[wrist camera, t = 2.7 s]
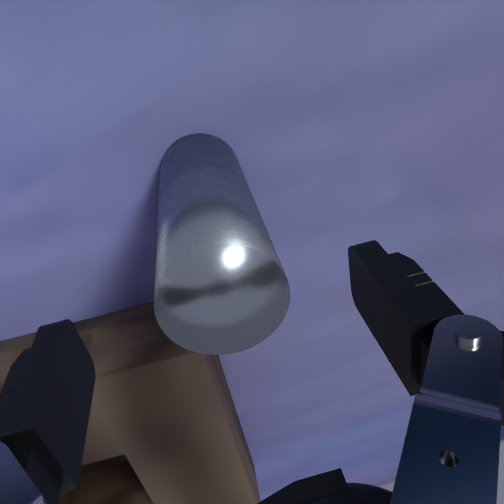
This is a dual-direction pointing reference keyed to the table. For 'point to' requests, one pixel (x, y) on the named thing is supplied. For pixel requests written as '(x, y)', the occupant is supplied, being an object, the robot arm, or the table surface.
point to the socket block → (154, 419)
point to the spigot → (213, 253)
